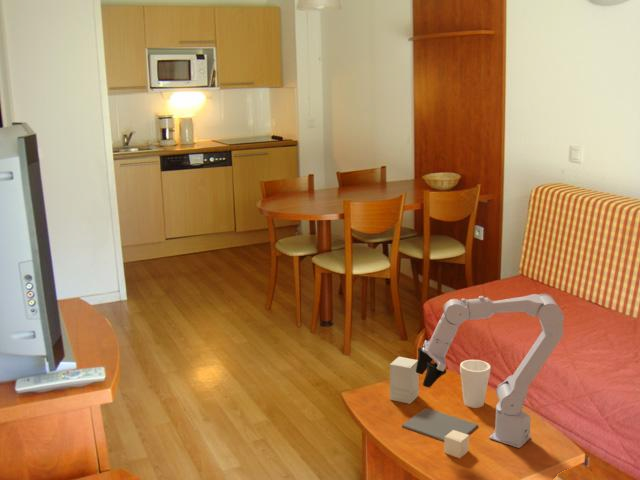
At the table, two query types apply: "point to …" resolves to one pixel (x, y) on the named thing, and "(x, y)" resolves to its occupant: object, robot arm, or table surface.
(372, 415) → the table surface
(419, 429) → the charcoal mat
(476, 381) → the foam cup
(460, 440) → the cream cube
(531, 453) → the table surface
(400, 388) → the supplement box
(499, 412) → the robot arm
